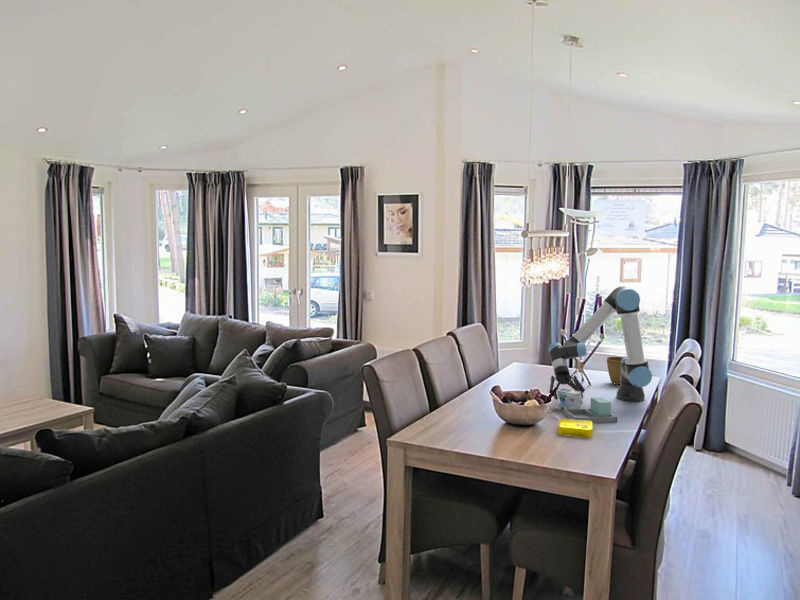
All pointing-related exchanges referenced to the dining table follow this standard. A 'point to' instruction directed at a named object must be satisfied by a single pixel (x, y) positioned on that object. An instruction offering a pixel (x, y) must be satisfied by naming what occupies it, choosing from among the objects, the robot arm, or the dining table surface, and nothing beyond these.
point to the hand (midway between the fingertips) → (570, 404)
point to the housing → (587, 415)
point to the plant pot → (614, 368)
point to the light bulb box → (569, 399)
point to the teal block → (600, 407)
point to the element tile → (575, 427)
